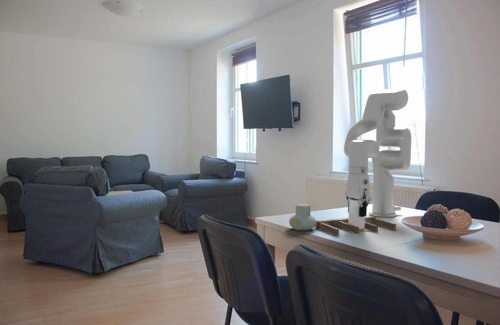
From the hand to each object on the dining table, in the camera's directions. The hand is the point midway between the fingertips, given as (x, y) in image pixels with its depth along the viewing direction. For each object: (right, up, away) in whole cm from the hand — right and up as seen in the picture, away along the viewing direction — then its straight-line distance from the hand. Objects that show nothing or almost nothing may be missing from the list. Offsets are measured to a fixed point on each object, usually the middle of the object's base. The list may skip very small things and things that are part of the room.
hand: (357, 214), depth 164 cm
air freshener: (-22, -6, -1) cm, 23 cm away
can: (0, -6, +1) cm, 6 cm away
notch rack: (0, -6, 0) cm, 6 cm away
